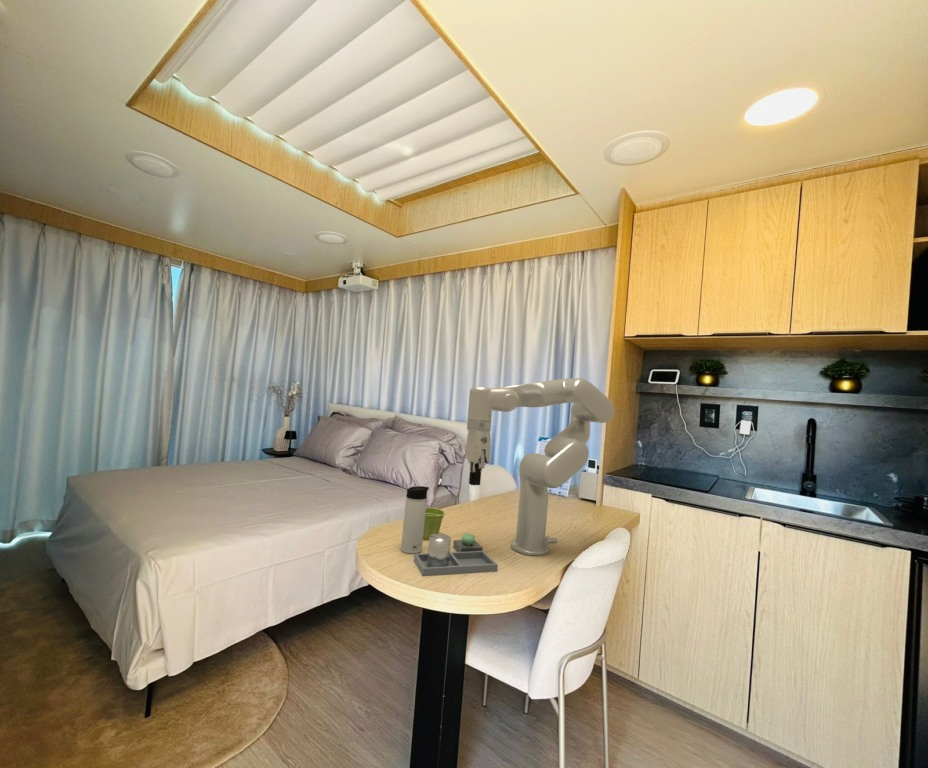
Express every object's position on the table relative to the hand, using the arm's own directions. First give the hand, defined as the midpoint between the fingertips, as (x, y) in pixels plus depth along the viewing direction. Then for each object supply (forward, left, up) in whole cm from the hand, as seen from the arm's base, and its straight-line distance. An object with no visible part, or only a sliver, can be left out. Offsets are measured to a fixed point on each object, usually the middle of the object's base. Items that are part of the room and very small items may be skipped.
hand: (474, 484), depth 125 cm
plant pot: (+8, -15, -22) cm, 28 cm away
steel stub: (+13, +10, -21) cm, 26 cm away
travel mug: (+17, -2, -22) cm, 28 cm away
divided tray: (+8, +10, -21) cm, 25 cm away
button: (0, 0, -21) cm, 21 cm away
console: (0, 0, -21) cm, 21 cm away
